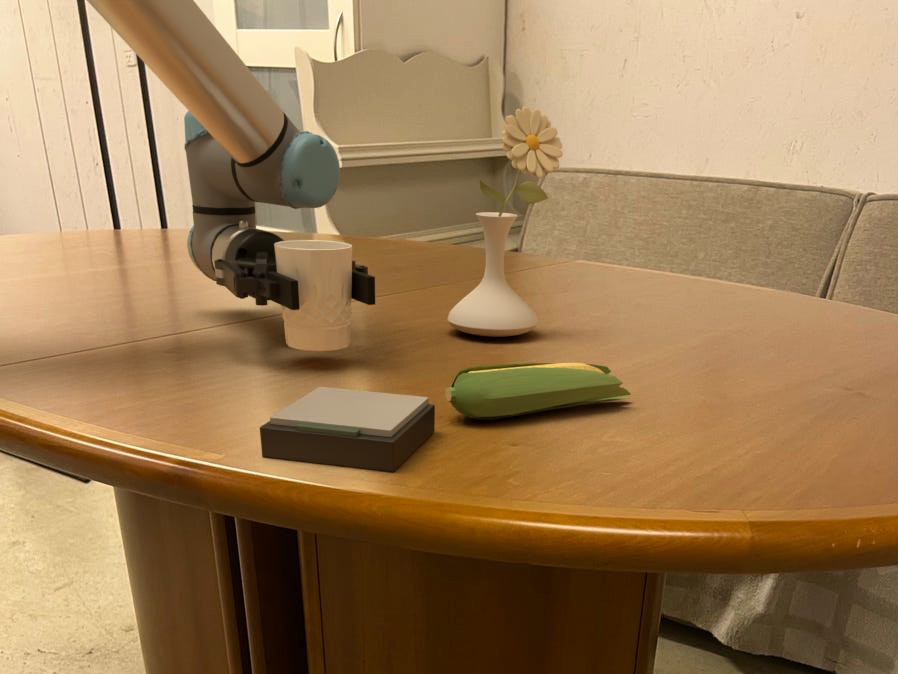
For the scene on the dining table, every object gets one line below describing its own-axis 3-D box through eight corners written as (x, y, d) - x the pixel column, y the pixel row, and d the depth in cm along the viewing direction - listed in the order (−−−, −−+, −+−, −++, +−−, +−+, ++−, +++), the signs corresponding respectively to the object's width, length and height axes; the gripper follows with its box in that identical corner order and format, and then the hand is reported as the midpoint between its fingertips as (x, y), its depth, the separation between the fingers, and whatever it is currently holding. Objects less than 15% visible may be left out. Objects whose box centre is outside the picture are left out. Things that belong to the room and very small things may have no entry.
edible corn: (435, 415, 84) (435, 365, 82) (615, 395, 93) (620, 348, 91) (460, 431, 81) (461, 378, 78) (646, 408, 89) (652, 360, 87)
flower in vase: (453, 344, 111) (457, 103, 99) (441, 324, 121) (444, 103, 108) (559, 343, 113) (576, 108, 101) (539, 325, 123) (552, 107, 110)
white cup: (299, 355, 94) (293, 250, 90) (269, 340, 100) (262, 241, 95) (367, 349, 98) (365, 247, 93) (335, 335, 104) (331, 238, 99)
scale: (394, 472, 71) (393, 434, 69) (261, 456, 73) (258, 419, 72) (434, 431, 80) (435, 397, 79) (316, 419, 82) (314, 385, 81)
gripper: (163, 230, 103) (231, 256, 86) (333, 226, 112) (424, 249, 96) (171, 301, 106) (238, 339, 90) (335, 291, 116) (423, 324, 99)
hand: (334, 293), depth 93 cm, fingers closed on white cup, 8 cm apart
